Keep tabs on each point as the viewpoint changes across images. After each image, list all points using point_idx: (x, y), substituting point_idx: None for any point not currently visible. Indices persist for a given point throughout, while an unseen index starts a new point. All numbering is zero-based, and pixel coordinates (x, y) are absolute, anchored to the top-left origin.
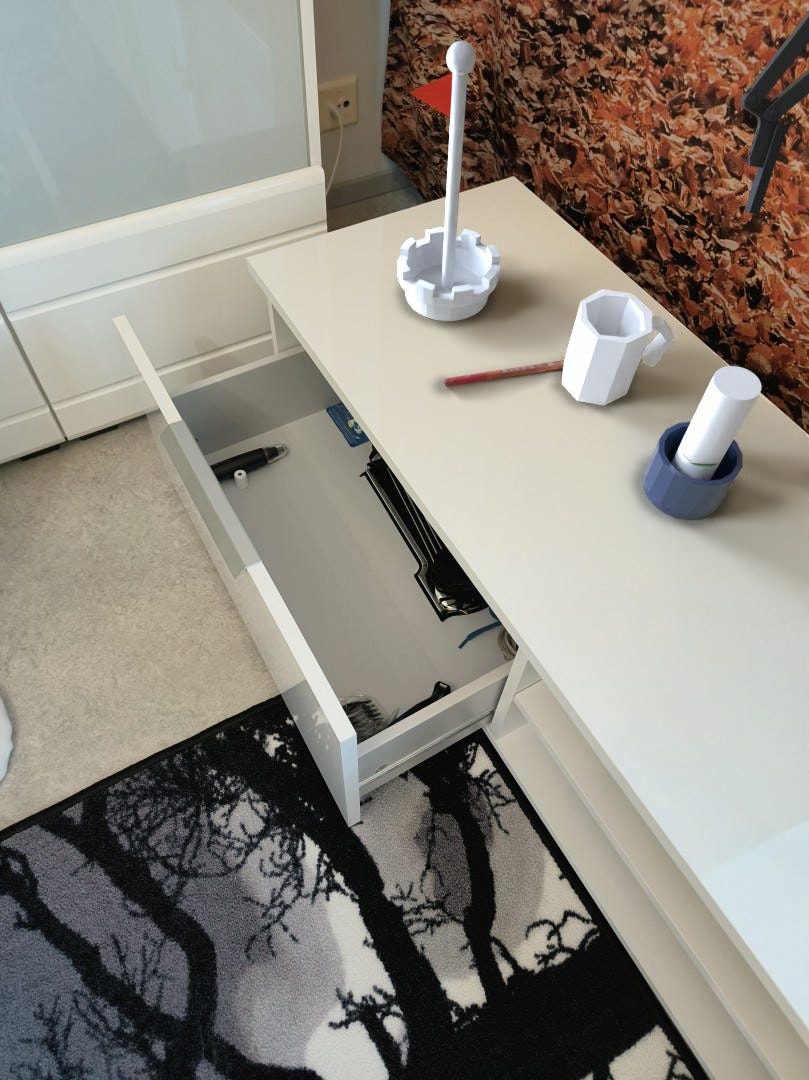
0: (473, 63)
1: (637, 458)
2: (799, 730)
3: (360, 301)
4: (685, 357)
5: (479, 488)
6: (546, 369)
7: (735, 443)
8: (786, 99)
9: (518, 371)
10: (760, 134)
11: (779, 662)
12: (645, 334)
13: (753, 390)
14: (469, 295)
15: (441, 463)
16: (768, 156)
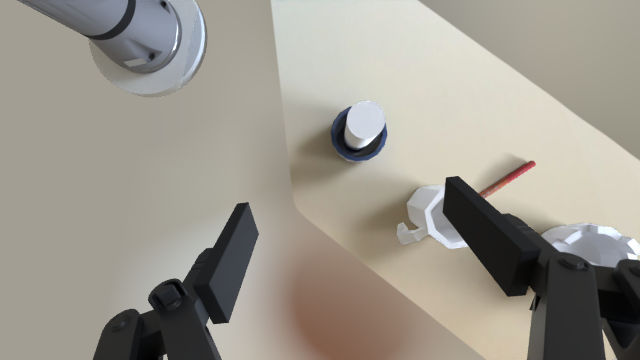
0: None
1: (386, 151)
2: (272, 10)
3: (630, 223)
4: (375, 253)
5: (476, 87)
6: None
7: (338, 150)
8: (579, 286)
9: (486, 191)
10: (544, 243)
11: (286, 44)
12: (428, 206)
13: (352, 116)
14: (561, 236)
15: (508, 96)
16: (501, 216)
